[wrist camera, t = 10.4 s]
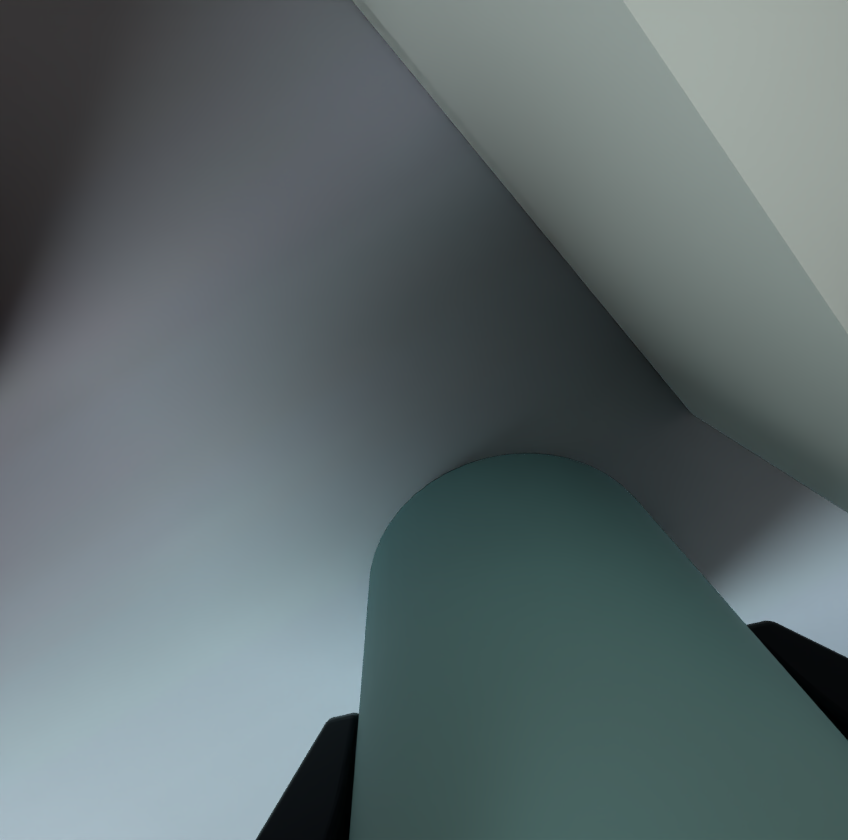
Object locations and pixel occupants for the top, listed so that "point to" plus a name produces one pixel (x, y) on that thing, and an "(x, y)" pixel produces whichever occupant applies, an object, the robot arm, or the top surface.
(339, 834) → the robot arm
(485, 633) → the teal cylinder
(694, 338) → the tote
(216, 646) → the top surface
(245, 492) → the top surface
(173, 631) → the top surface
